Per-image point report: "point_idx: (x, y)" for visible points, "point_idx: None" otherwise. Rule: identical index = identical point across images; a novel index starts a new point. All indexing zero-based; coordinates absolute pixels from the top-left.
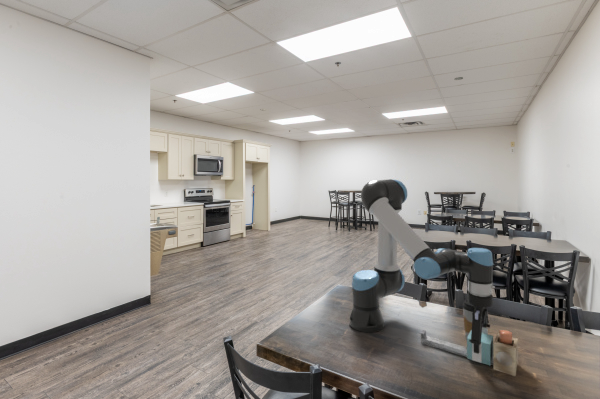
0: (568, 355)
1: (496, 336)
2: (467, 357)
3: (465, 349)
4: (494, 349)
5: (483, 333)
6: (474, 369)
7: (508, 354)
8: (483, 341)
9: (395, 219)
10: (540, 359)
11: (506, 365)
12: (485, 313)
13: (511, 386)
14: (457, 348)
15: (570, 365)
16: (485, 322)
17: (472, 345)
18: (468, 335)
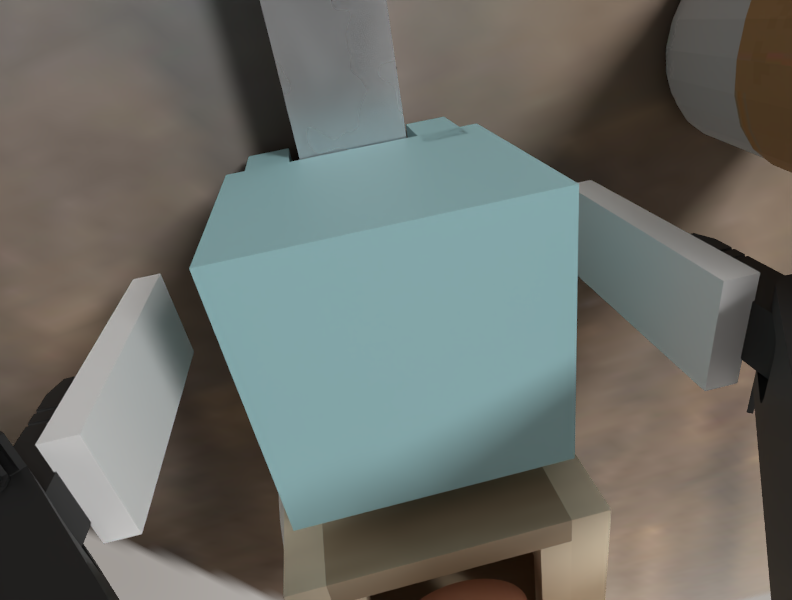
0: None
1: (519, 539)
2: (249, 160)
3: (338, 107)
4: (285, 533)
5: (569, 363)
6: (136, 273)
7: None
8: (310, 458)
9: None
10: (650, 481)
11: None
12: None
13: (173, 505)
14: (276, 10)
15: (664, 565)
16: (766, 477)
17: (64, 402)
18: (324, 241)
